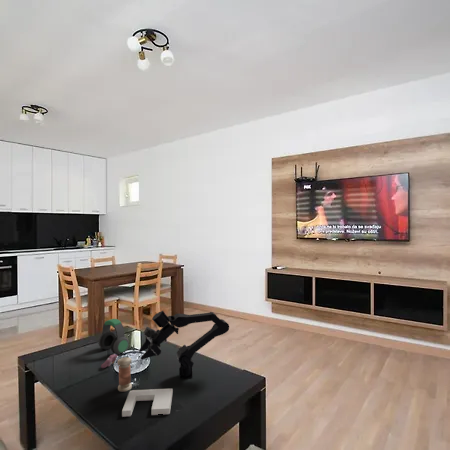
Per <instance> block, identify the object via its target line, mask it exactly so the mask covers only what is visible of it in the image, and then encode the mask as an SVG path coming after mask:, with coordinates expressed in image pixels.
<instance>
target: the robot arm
mask: <svg viewBox="0 0 450 450" xmlns="http://www.w3.org/2000/svg"><path fill="white" fill-rule="evenodd" d="M151 320H152V322H154V323H155V324H156V326H157V327H158V328H160V329H157V330H155V329H153V328H152V327H149V326H146V328H145V330H144V331H143V335H144V336H145V338H144V339H145V340H144V341H143V343H142V345H141V347H140V348H139V350H138V352H139V353H141V352H144V351H145V352H144V353H143V355H141V357H140V360H146V359H148V358H149V359H150V358H151V357H156V356H158V357H159V356H160V355H161V354H162V348H161V344H163V343H164V342H167V341H168V340H167V339H168V338H169V337H170V336H171V335H172V334H174V333H175V334H177V335H179V328H183V327H186V326H188V325H190V324H197V323H204V322H212V323H213V326H212V327H211V329H209V330H208V331H207V332H205V333H204V334H203V335H201V336H200V337H199V338H197V339H196V340H195V341H193V343H191V344H190V345H186V344H183V345H182V346H181V347H178V349H177V351H176V355H175V356H176V358H177V360H178V362H179V364H180V365H179V370H178V375H179V377H180V378H179V379H192V378H193V375H194V373H193V367H194V361H193V360H192V358H193V357H194V355H195V354H196V352H198V351H199V350H201V349H202V348H203V347H204V346H206V345H208V343H210V342H211V341H212V340H213V339H215V338H216V337H218V336H220V337H221V336H222V335H225V334H226V333H228V332H229V329H230V325H229V323H228V322H227V321H226V320H224V319H222V318H219V316H217V314H216V313H214V312H213V311H210V312H203V313H195V314H186V313H175V314H174V315H167V314H166V313H165V311H164V310H161V311H159V312H157V313H155V314H154V315H153V317H152V319H151Z"/></svg>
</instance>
